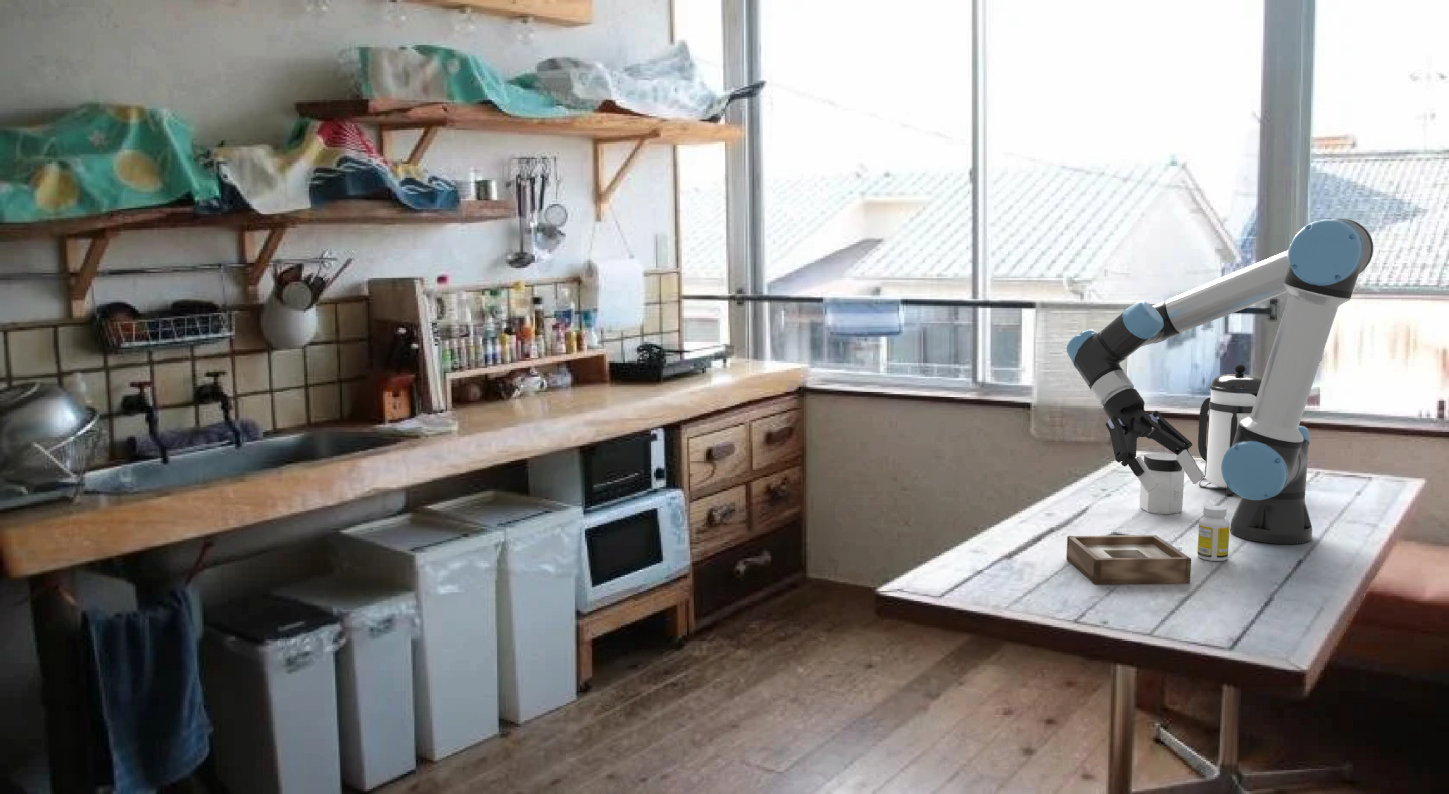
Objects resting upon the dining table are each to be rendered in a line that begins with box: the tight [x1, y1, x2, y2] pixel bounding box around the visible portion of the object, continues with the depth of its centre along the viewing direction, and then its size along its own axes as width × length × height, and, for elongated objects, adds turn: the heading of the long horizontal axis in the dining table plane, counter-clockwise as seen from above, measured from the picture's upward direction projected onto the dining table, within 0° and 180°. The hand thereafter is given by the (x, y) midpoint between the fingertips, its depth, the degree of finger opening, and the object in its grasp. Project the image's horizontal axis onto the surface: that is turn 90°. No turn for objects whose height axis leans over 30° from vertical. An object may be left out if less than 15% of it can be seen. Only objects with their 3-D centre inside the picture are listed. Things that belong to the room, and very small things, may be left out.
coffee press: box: [1197, 363, 1263, 497], centre depth 288 cm, size 17×16×30 cm
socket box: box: [1065, 534, 1192, 586], centre depth 223 cm, size 17×16×4 cm
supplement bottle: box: [1197, 504, 1231, 562], centre depth 231 cm, size 5×5×10 cm
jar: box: [1138, 452, 1185, 516], centre depth 268 cm, size 9×8×12 cm
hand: (1176, 484), depth 237 cm, fingers open, 13 cm apart
